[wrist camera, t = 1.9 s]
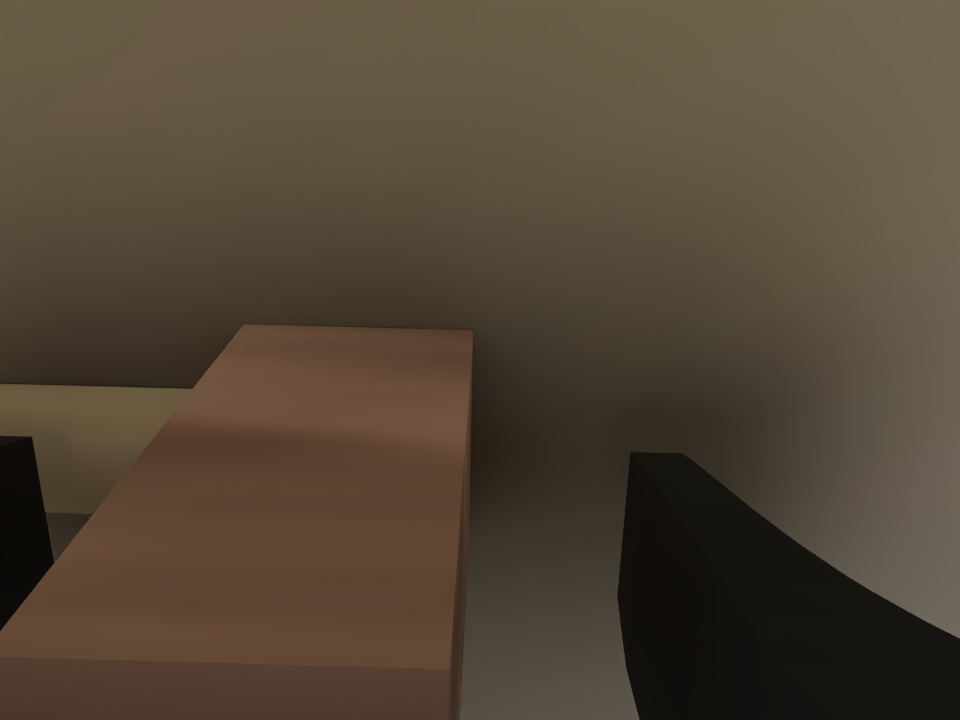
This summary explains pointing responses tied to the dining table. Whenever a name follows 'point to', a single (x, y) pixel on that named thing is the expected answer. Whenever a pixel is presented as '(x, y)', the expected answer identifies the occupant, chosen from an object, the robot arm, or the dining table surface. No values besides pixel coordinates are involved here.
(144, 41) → the dining table surface
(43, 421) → the push blade
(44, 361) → the dining table surface
